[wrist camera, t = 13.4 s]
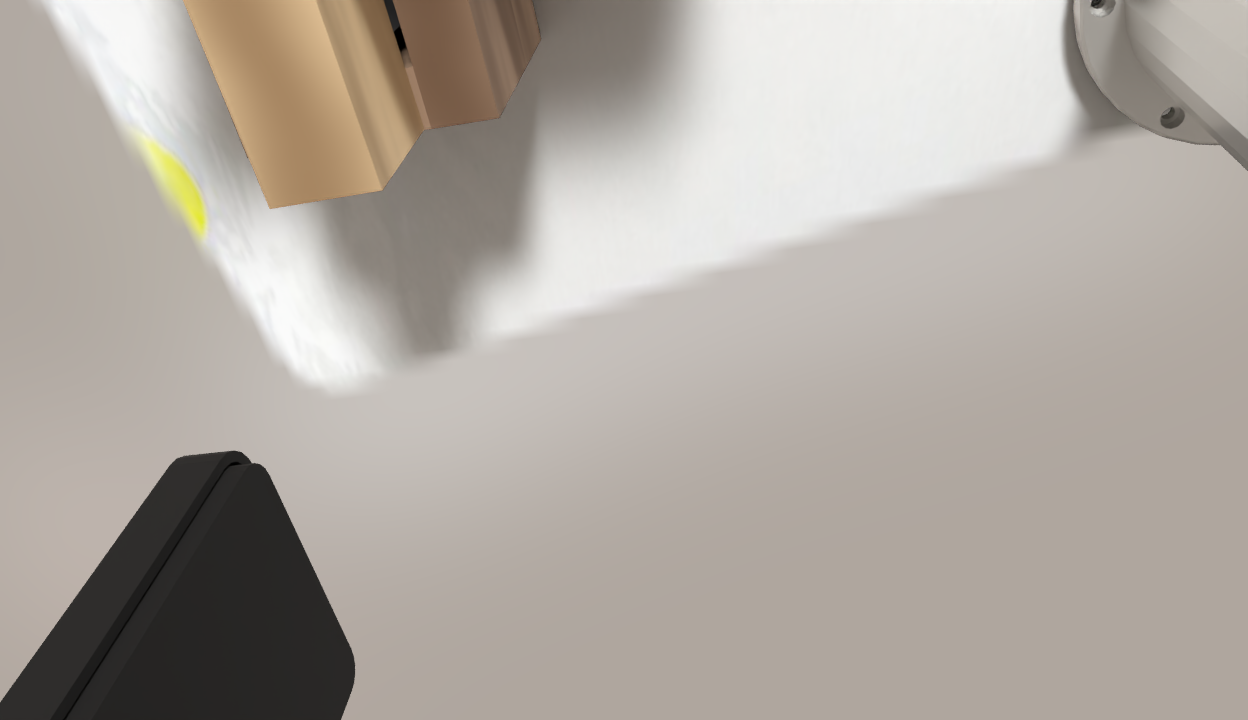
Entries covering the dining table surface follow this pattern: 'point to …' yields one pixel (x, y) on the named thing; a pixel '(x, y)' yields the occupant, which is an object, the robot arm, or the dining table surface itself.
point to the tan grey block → (312, 92)
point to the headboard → (464, 55)
